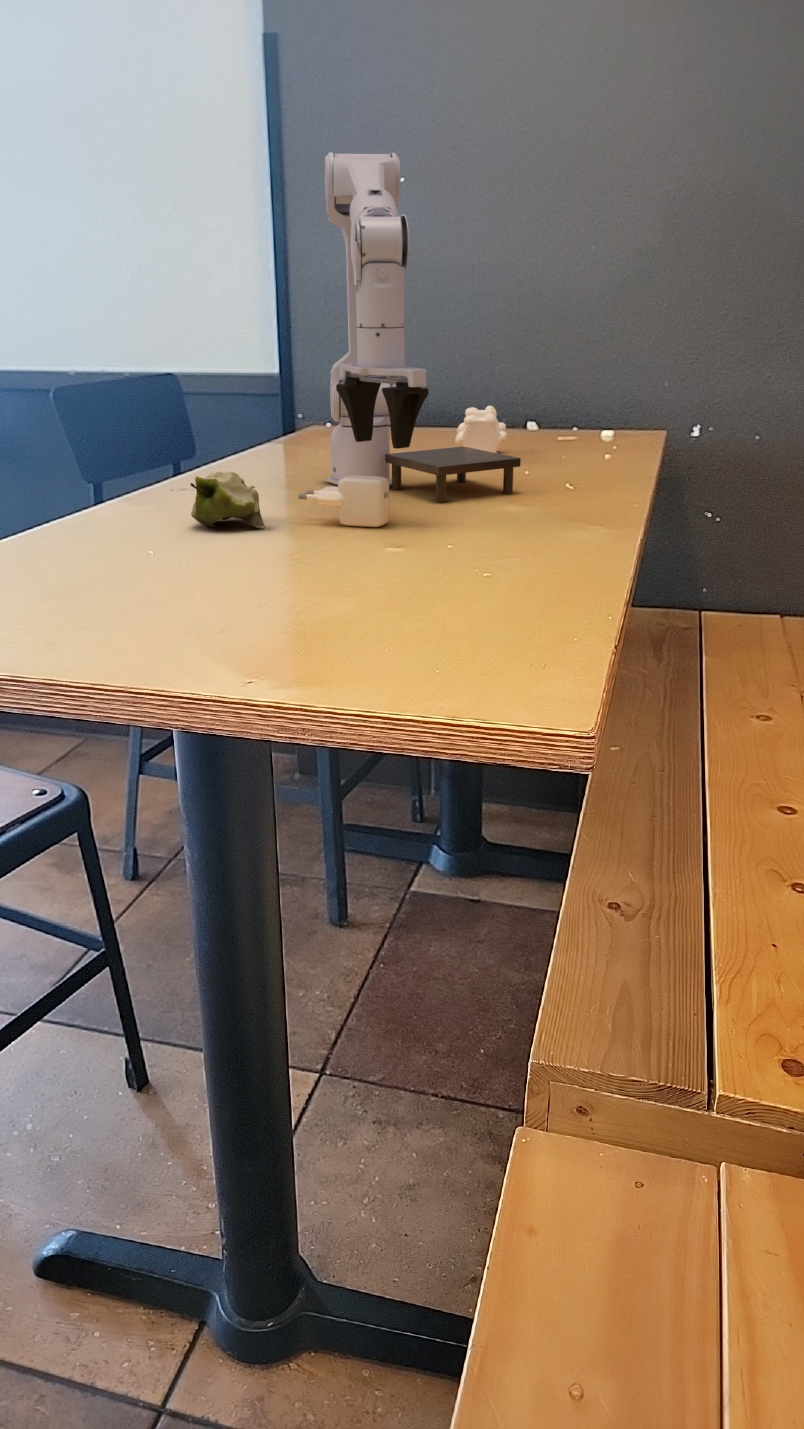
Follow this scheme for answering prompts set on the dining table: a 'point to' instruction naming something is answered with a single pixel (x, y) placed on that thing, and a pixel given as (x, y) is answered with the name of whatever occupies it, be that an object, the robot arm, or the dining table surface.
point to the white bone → (481, 430)
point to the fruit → (225, 500)
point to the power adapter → (356, 500)
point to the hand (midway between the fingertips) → (382, 444)
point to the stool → (452, 465)
